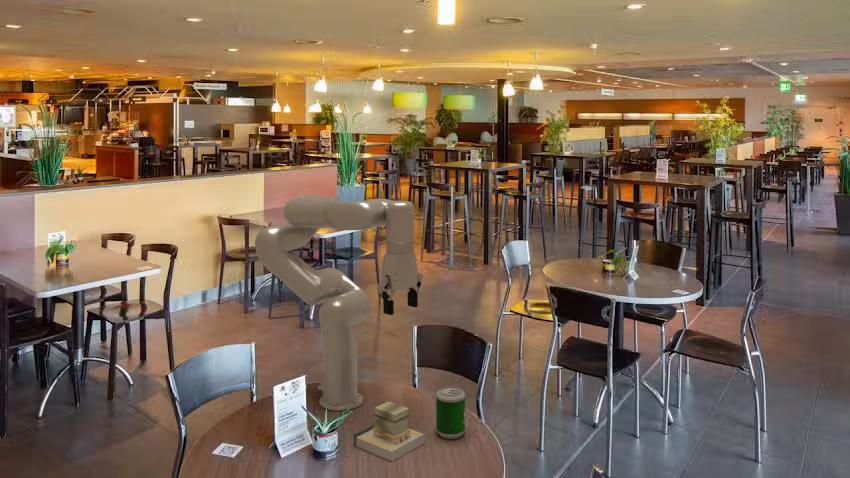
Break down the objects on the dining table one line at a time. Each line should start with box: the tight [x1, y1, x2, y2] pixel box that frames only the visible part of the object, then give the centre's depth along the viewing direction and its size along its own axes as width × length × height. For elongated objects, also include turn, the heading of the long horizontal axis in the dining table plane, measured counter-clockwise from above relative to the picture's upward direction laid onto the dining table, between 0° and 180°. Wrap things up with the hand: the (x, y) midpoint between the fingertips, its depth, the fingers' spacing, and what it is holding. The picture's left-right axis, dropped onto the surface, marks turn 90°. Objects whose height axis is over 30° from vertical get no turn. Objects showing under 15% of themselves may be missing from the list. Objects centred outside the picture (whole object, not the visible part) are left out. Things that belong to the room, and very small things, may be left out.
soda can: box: [435, 385, 466, 440], centre depth 174 cm, size 8×8×12 cm
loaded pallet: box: [373, 401, 410, 444], centre depth 167 cm, size 8×5×8 cm, turn 50°
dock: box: [353, 423, 425, 462], centre depth 169 cm, size 13×12×3 cm
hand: (400, 310), depth 180 cm, fingers open, 9 cm apart
